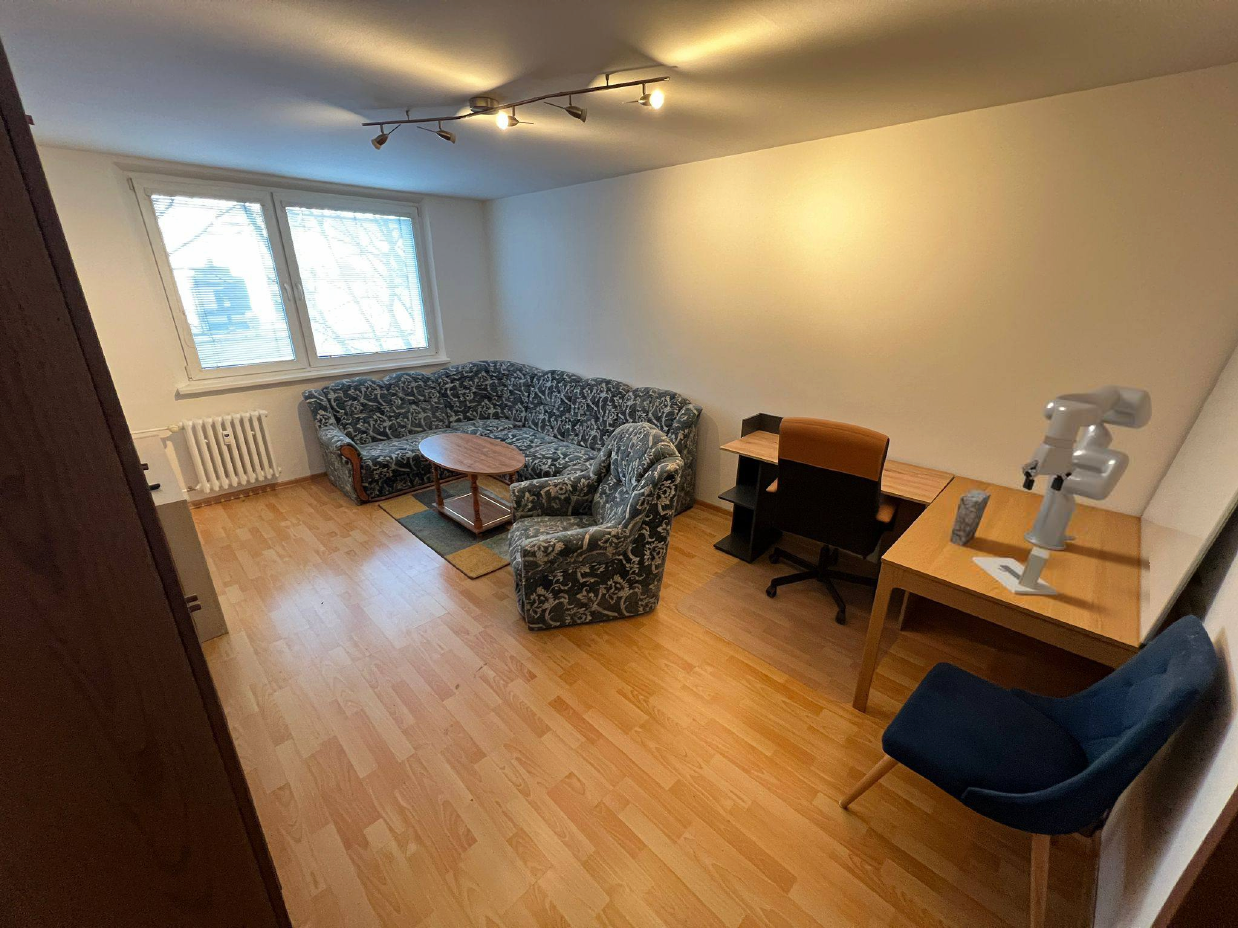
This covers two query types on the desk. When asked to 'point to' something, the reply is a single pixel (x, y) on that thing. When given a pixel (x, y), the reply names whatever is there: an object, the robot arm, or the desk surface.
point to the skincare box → (1033, 567)
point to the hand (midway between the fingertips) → (1040, 489)
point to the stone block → (969, 516)
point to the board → (1012, 575)
